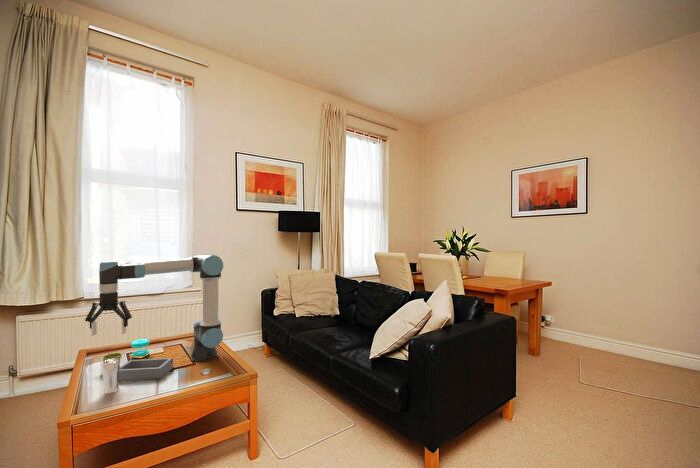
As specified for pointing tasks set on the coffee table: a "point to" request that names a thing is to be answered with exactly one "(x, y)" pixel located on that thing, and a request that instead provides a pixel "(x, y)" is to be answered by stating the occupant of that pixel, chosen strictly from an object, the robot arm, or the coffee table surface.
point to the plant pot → (112, 356)
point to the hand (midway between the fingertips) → (109, 334)
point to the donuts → (140, 344)
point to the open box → (145, 369)
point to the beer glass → (111, 375)
